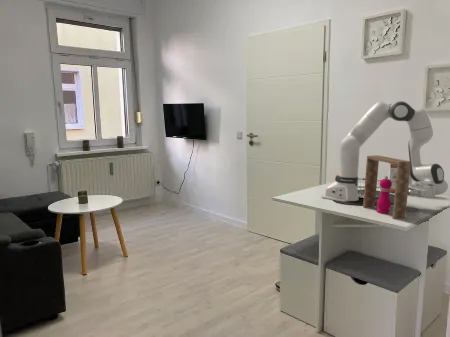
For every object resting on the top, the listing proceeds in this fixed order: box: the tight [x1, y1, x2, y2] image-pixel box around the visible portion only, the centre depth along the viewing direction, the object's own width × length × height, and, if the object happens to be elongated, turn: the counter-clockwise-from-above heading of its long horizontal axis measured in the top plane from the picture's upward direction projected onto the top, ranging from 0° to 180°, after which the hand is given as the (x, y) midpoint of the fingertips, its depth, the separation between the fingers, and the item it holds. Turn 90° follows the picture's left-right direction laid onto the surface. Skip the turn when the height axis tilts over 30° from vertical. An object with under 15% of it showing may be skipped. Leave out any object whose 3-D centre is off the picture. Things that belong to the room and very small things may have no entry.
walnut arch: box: [362, 155, 411, 220], centre depth 199 cm, size 8×23×30 cm, turn 20°
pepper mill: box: [376, 175, 392, 215], centre depth 199 cm, size 7×7×20 cm
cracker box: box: [387, 163, 413, 195], centre depth 247 cm, size 14×6×21 cm, turn 73°
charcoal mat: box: [406, 205, 420, 214], centre depth 207 cm, size 11×11×1 cm
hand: (402, 190), depth 203 cm, fingers open, 8 cm apart
